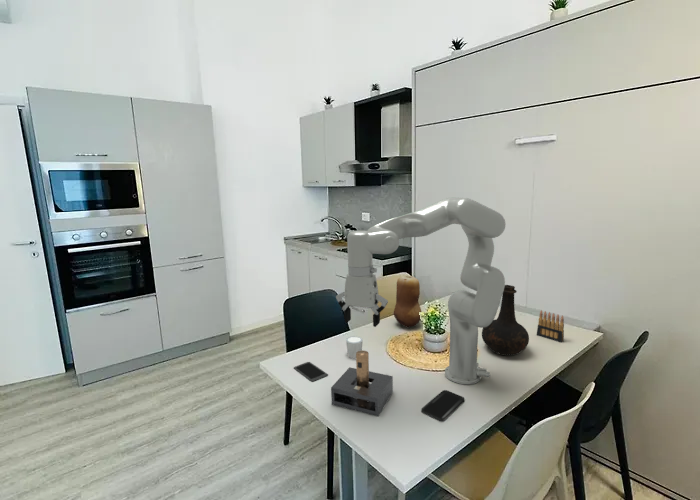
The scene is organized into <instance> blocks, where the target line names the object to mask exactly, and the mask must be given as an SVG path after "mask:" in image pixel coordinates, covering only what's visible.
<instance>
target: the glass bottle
mask: <svg viewBox="0 0 700 500" xmlns="http://www.w3.org/2000/svg"><path fill="white" fill-rule="evenodd" d="M515 288H516V286H514V285H512V284H511V285H508V284H505V287H504V291H503V294H502V297H501V301H500V309H499V313H498V316H497V318H496V319H494V320H493V321H492V323H491V324H490V325H488V326H487V327H484V328H482V330H481V338H482V340H483V343H484V344H485V345H486V346H487V348H488V349H489V350H491V351H493V352H494V353H496V354H498V355H502V356H515V355H518V354H520V353H523V351H525V349H526V348H527V347H528V345H529V342H530V337H529V336H530V335H529V333H528V330H527V329H526V328H525V326H524V325H522V324H521V323H518V321H517V317H516V312H515V311H516V310H515V294H516V293H517V290H516V289H515Z"/></svg>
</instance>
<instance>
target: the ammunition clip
mask: <svg viewBox="0 0 700 500" xmlns="http://www.w3.org/2000/svg"><path fill="white" fill-rule="evenodd" d="M564 320H565V318H564V315H561V316H559V314H557V315H555V313H552V315H551V312H550V311H549V312H548V314H547V311H546V310H545V311H544V312H543V310H542V309H541V310H540V311H539V316H538V322H537V323H538V324H537V330H536V336H537V337H541V338H543V339H547V340H551V341H554V342H558V343H561V344H562V343H563V342H564V340H565V339H564V336H565V330H564V328H565V327H564V326H565V321H564Z"/></svg>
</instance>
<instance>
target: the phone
mask: <svg viewBox="0 0 700 500" xmlns="http://www.w3.org/2000/svg"><path fill="white" fill-rule="evenodd" d="M465 400H466V399H465V397H464V396H463V395H459V394H457V393H454V392H452V391H451V390H450V391H449V390H447V389H444V390H442V391H441V392H439V393H438V394H437V395H436V396H435V397H433V398H432V399H431V400H430V401H428V402H427V403H426V404H425V405H424V406H423V407H422V408H421V409H420V411H421V413H422V414H423V415H426V416H427V417H429V418H431V419H434V420H436V421H438V422H440V423H442V422H443V423H444V422H446V420H447V419H448V418H449V417H450V416H451V415H452V414H453V413H454V412H455V411H456V410H457V409H458V408H460V406H462V404H464V403H465Z"/></svg>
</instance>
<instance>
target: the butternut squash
mask: <svg viewBox="0 0 700 500" xmlns="http://www.w3.org/2000/svg"><path fill="white" fill-rule="evenodd" d="M420 287H421V286H420V280H419V279H418V278H416V277H414V276H412V275H402V276H399V277H398V278H397V281H396V291H395V292H396V293H395V294H396V295H395V296H396V297H395V306H394V310H393V316H394V318H395V320H396V321H397V322H398V323H399V324H400V325H402V326H403V327H405V328H408V329H410V328H413V327H416V326H417V325H418V324H419V322H420V321H421V319H420V315H419V312H422V308H421V306H420V301H419V299H420V294H421V292H420V290H421V289H420Z"/></svg>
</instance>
